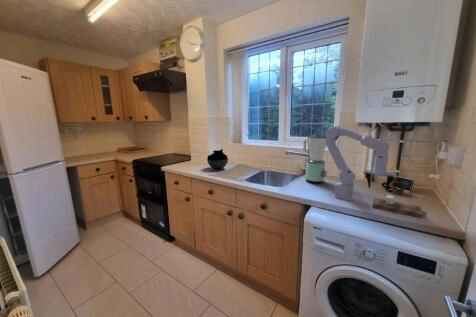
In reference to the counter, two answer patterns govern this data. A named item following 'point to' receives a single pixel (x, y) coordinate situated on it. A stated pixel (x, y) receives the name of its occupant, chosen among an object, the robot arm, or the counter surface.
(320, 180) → the green blender
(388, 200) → the fader
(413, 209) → the brown flat slab
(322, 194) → the counter surface
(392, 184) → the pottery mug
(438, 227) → the counter surface
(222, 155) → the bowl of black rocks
